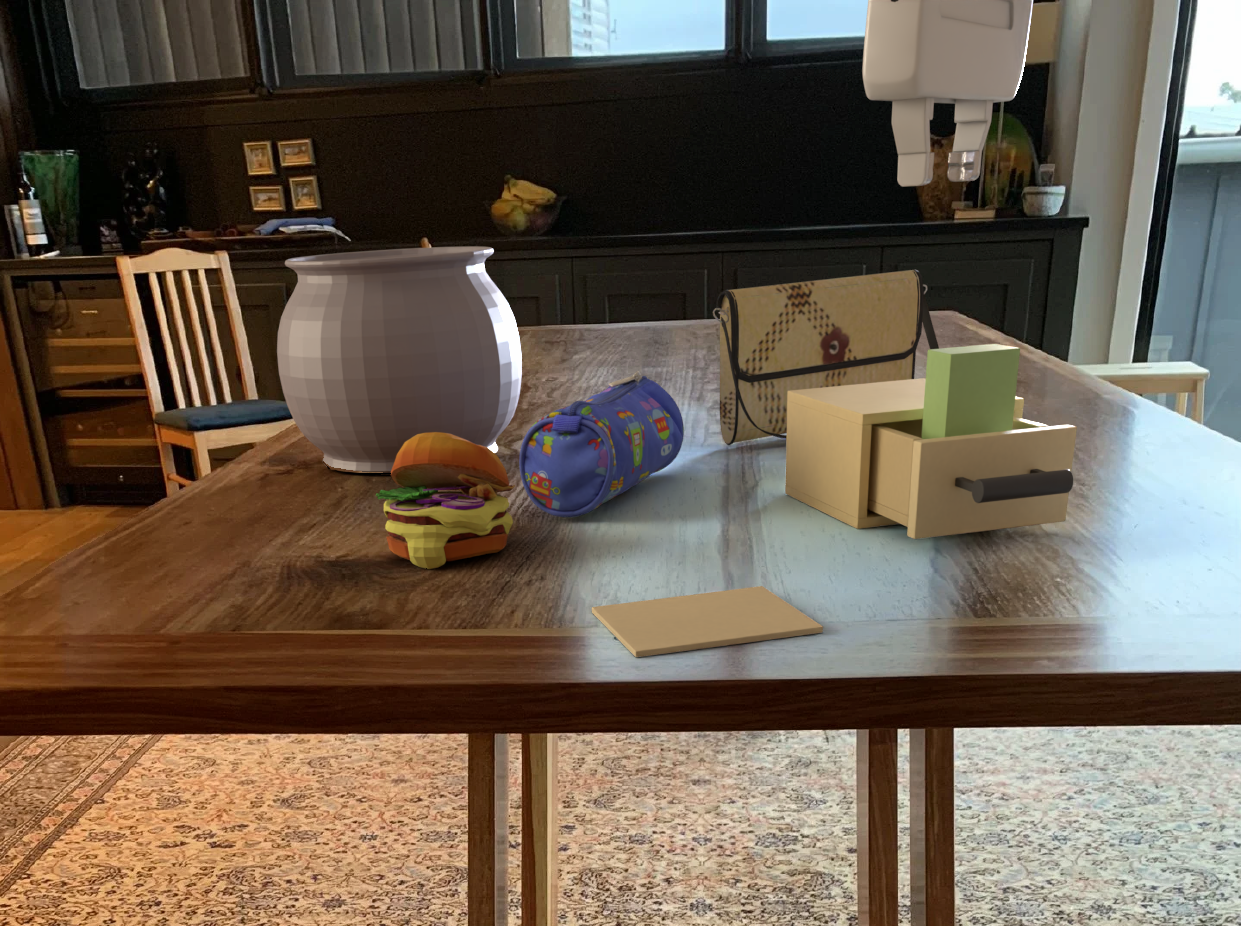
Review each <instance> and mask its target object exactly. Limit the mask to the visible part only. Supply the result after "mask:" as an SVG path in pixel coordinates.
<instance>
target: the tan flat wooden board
mask: <svg viewBox="0 0 1241 926" xmlns="http://www.w3.org/2000/svg"><path fill="white" fill-rule="evenodd" d="M591 613H592V614H593V615H594V616H595V618H597V619H598V620H599V621H600V623H602V625H603V626H605V628H606V629H608V631H609V632H610V633H612V635H613V636H614V637H615V638H616V639H617V640H618V641H619V642H620V643H621V644H622V645H623V646H624V647H625V648H626V649H627V651H629V652H630V653H631V654H632V655H633V656H634V657H635V658H643V657H650V656H658V655H666V654H673V653H680V652H687V651H695V650H703V649H711V648H718V647H725V646H734V645H740V644H747V643H755V642H762V641H771V640H777V639H785V638H793V637H801V636H809V635H815V634H822V633H824V626H823V625H822V624H820V623H819V622H817V621H815V620H814V619H812V618H811V617H809V616H808V615H806V614H805V613H804V612H802V611H801V610H799V609H798V608H797V607H795V606H794V605H792V604H790V603H789V602H787V601H785V600H784V599H782V597H780V596H778V595H777V594H775V593H774V592H772V591H770V589H767V587H765V586H763V585H758V586H751V587H743V588H742V587H741V588H734V589H733V588H732V589H727V590H717V591H709V592H702V593H693V594H685V595H678V596H670V597H661V598H653V599H645V600H637V601H630V602H629V601H628V602H622V603H613V604H605V605H598V606H592V607H591Z"/></svg>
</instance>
